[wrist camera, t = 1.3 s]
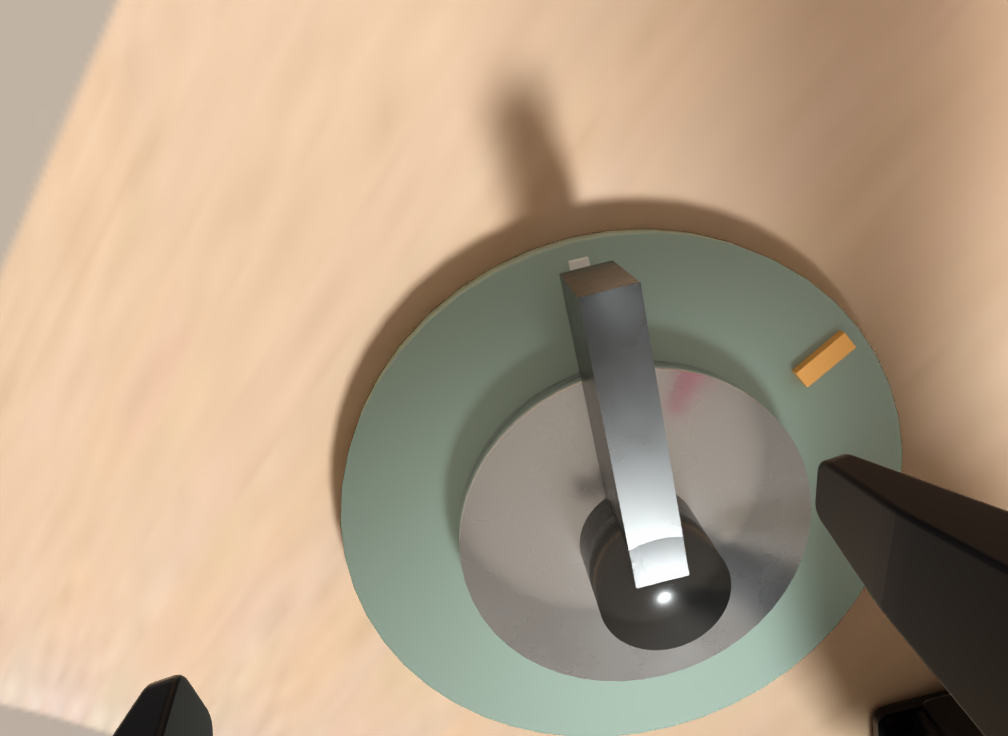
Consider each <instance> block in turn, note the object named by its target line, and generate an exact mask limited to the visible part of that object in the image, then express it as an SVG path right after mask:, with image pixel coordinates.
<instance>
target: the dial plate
mask: <svg viewBox="0 0 1008 736" xmlns="http://www.w3.org/2000/svg"><path fill="white" fill-rule="evenodd" d="M611 260H613V261H614V262H615V263H617V264H618V265H619V266H621V267H622V268H623V269H624V270H626V271H627V272H628V273H629V274H631V275H632V276H633V277H634V278H636V279H637V280H638V281H639V282H640V283H641V289H642V295H643V301H644V307H645V313H646V319H647V325H648V330H649V336H650V342H651V348H652V354H653V360H654V361H669V362H676V363H681V364H686V365H690V366H695V367H698V368H701V369H703V370H706V371H709V372H712V373H715V374H717V375H719V376H721V377H723V378H725V379H727V380H729V381H730V382H732V383H734V384H736V385H737V386H739V387H740V388H741V389H743V390H744V391H745V392H747V393H748V394H750V395H751V396H752V397H753V398H755V399H756V400H757V401H758V402H759V403H760V404H761V405H763V406H764V407H765V408H766V409H767V410H768V411H769V412H770V413H771V414H772V415H773V416H774V417H775V418H776V419H777V420H778V421H779V422H780V423H781V424H782V426H783V427H784V428H785V430H786V431H787V433H788V434H789V435H790V437H791V438H792V439H793V441H794V443H795V445H796V447H797V449H798V451H799V453H800V455H801V457H802V460H803V463H804V466H805V469H806V472H807V475H808V480H809V485H810V491H811V523H810V531H809V537H808V540H807V544H806V548H805V551H804V555H803V557H802V560H801V562H800V564H799V567H798V569H797V572H796V574H795V576H794V577H793V579H792V581H791V583H790V584H789V586H788V588H787V589H786V591H785V593H784V594H783V595H782V597H781V598H780V599H779V601H778V602H777V603H776V605H775V606H774V607H773V609H772V610H771V611H770V612H769V613H768V614H767V615H766V616H765V617H764V618H763V619H762V620H761V621H760V623H759V624H758V625H756V626H755V627H754V628H753V629H752V630H751V631H749V632H748V633H747V634H746V635H745V636H744V637H742V638H741V639H740V640H738V641H737V642H735V643H734V644H732V645H731V646H729V647H728V648H727V649H725V650H723V651H722V652H720V653H718V654H716V655H714V656H712V657H711V658H709V659H707V660H705V661H703V662H700V663H698V664H696V665H693V666H691V667H689V668H686V669H683V670H680V671H677V672H673V673H670V674H667V675H663V676H658V677H653V678H648V679H642V680H631V681H598V680H590V679H582V678H577V677H573V676H569V675H565V674H561V673H558V672H555V671H553V670H550V669H547V668H545V667H542V666H540V665H538V664H536V663H534V662H532V661H531V660H529V659H527V658H525V657H523V656H522V655H520V654H519V653H518V652H516V651H515V650H513V649H512V648H511V647H509V646H508V645H507V644H506V643H505V642H504V641H503V640H501V639H500V638H499V637H498V636H497V635H496V634H495V633H494V632H493V631H492V629H491V628H490V627H489V626H488V624H487V623H486V622H485V621H484V619H483V618H482V617H481V615H480V613H479V611H478V610H477V608H476V606H475V605H474V603H473V601H472V599H471V596H470V594H469V591H468V588H467V586H466V583H465V580H464V575H463V570H462V566H461V558H460V541H459V518H460V506H461V502H462V498H463V493H464V489H465V485H466V483H467V480H468V478H469V475H470V473H471V470H472V468H473V465H474V463H475V462H476V460H477V458H478V456H479V455H480V453H481V451H482V449H483V448H484V446H485V444H486V443H487V442H488V441H489V439H490V438H491V437H492V435H493V434H494V433H495V431H496V430H497V429H498V427H499V426H500V425H501V424H502V423H503V422H504V421H505V420H506V419H507V418H508V417H509V416H510V415H511V414H512V413H513V412H514V411H515V410H516V409H518V408H519V407H520V406H522V405H523V404H524V403H525V402H527V401H528V400H529V399H530V398H532V397H533V396H534V395H536V394H538V393H539V392H541V391H543V390H544V389H546V388H548V387H549V386H551V385H552V384H554V383H556V382H558V381H561V380H563V379H565V378H567V377H569V376H572V375H574V374H576V373H579V367H578V363H577V358H576V353H575V348H574V343H573V338H572V334H571V329H570V324H569V319H568V314H567V310H566V305H565V300H564V295H563V290H562V285H561V281H560V276H559V273H563V272H567V271H571V270H575V269H579V268H583V267H587V266H591V265H595V264H599V263H603V262H607V261H611ZM842 454H850V455H854V456H857V457H860V458H862V459H865V460H868V461H871V462H873V463H876V464H879V465H882V466H884V467H887V468H890V469H893V470H895V471H898V472H901V469H902V444H901V435H900V426H899V417H898V414H897V410H896V406H895V402H894V399H893V395H892V391H891V388H890V385H889V383H888V380H887V378H886V376H885V374H884V371H883V369H882V367H881V365H880V362H879V360H878V358H877V356H876V354H875V353H874V351H873V349H872V348H871V346H870V345H869V343H868V342H867V340H866V339H865V337H864V336H863V334H862V333H861V331H860V330H859V328H858V327H857V326H856V325H855V323H854V322H853V321H852V320H851V319H850V318H849V317H848V316H847V315H846V313H845V312H844V311H843V310H842V309H841V308H840V307H839V306H838V305H837V304H836V302H835V301H833V300H832V299H831V298H830V297H828V296H827V295H826V294H825V293H823V292H822V291H821V290H820V289H818V288H817V287H816V286H815V285H813V284H812V283H811V282H810V281H808V280H807V279H806V278H804V277H802V276H801V275H799V274H797V273H795V272H794V271H792V270H790V269H788V268H787V267H785V266H783V265H782V264H780V263H778V262H776V261H775V260H772V259H770V258H768V257H765V256H763V255H760V254H758V253H755V252H752V251H750V250H747V249H745V248H742V247H740V246H737V245H735V244H732V243H730V242H727V241H724V240H719V239H715V238H711V237H706V236H702V235H698V234H694V233H689V232H680V231H669V230H657V229H633V230H611V231H604V232H598V233H593V234H587V235H582V236H576V237H570V238H567V239H563V240H560V241H557V242H554V243H551V244H548V245H545V246H541V247H538V248H535V249H532V250H529V251H527V252H525V253H523V254H520V255H518V256H516V257H514V258H512V259H510V260H508V261H506V262H503V263H501V264H499V265H497V266H495V267H493V268H491V269H489V270H488V271H486V272H485V273H483V274H482V275H480V276H478V277H477V278H475V279H474V280H472V281H471V282H469V283H467V284H466V285H464V286H463V287H461V288H460V289H458V290H457V291H456V292H454V293H453V294H452V295H451V296H450V297H448V298H447V299H446V300H445V301H444V302H442V303H441V304H440V305H439V306H438V307H436V308H435V309H434V310H433V311H432V312H431V313H429V314H428V315H427V316H426V317H425V318H424V319H423V320H422V322H421V323H420V324H419V325H418V326H417V327H416V328H415V329H414V330H413V331H412V332H411V334H410V335H409V336H408V337H407V338H406V339H405V340H404V341H403V342H402V343H401V345H400V346H399V347H398V349H397V350H396V352H395V353H394V355H393V356H392V358H391V359H390V360H389V362H388V363H387V365H386V366H385V368H384V369H383V371H382V372H381V373H380V375H379V377H378V379H377V381H376V383H375V385H374V387H373V389H372V391H371V393H370V395H369V397H368V399H367V401H366V403H365V405H364V407H363V409H362V412H361V415H360V418H359V421H358V424H357V427H356V430H355V433H354V436H353V439H352V442H351V445H350V449H349V452H348V457H347V463H346V468H345V474H344V479H343V485H342V497H341V529H342V537H343V545H344V553H345V558H346V562H347V565H348V569H349V572H350V576H351V579H352V583H353V586H354V589H355V591H356V593H357V595H358V597H359V600H360V602H361V604H362V606H363V608H364V610H365V613H366V615H367V617H368V618H369V620H370V621H371V623H372V624H373V626H374V627H375V629H376V630H377V632H378V634H379V635H380V637H381V638H382V640H383V641H384V643H385V644H386V645H387V646H388V647H389V648H390V649H391V650H392V652H393V653H394V654H395V655H396V656H397V657H398V658H399V660H400V661H401V662H402V663H403V664H404V665H405V666H406V667H407V668H408V669H409V670H411V671H412V672H413V673H414V674H415V675H416V676H418V677H419V678H420V679H421V680H422V681H423V682H425V683H426V684H427V685H428V686H430V687H431V688H433V689H434V690H436V691H437V692H439V693H440V694H442V695H443V696H445V697H446V698H448V699H449V700H451V701H453V702H454V703H456V704H458V705H460V706H462V707H464V708H466V709H469V710H471V711H473V712H475V713H477V714H479V715H481V716H483V717H486V718H489V719H492V720H495V721H498V722H501V723H504V724H506V725H509V726H513V727H517V728H522V729H526V730H531V731H535V732H540V733H546V734H555V735H564V736H618V735H628V734H638V733H643V732H648V731H653V730H658V729H663V728H668V727H672V726H675V725H678V724H682V723H685V722H688V721H692V720H695V719H698V718H701V717H704V716H706V715H708V714H711V713H713V712H716V711H718V710H721V709H723V708H725V707H728V706H730V705H732V704H734V703H736V702H738V701H740V700H742V699H743V698H745V697H747V696H749V695H751V694H753V693H755V692H756V691H758V690H760V689H762V688H763V687H765V686H766V685H768V684H769V683H771V682H772V681H773V680H775V679H776V678H778V677H779V676H781V675H782V674H784V673H785V672H787V671H788V670H789V669H791V668H792V667H793V666H794V665H795V664H797V663H798V662H799V661H800V660H801V659H803V658H804V657H805V656H806V655H807V654H809V653H810V652H811V651H812V650H813V649H814V648H815V647H816V646H817V645H818V644H819V643H820V642H821V641H822V640H823V639H824V638H825V637H826V636H827V635H828V634H829V633H830V632H831V631H832V630H833V629H834V628H835V627H836V625H837V624H838V623H839V621H840V620H841V619H842V618H843V616H844V615H845V614H846V612H847V611H848V610H849V609H850V607H851V606H852V605H853V604H854V602H855V601H856V599H857V598H858V596H859V594H860V593H861V591H862V590H863V588H864V584H863V583H862V581H861V580H860V578H859V577H858V575H857V574H856V572H855V571H854V569H853V568H852V566H851V565H850V563H849V562H848V560H847V559H846V557H845V556H844V554H843V553H842V551H841V550H840V548H839V547H838V545H837V544H836V542H835V541H834V539H833V538H832V536H831V535H830V533H829V532H828V531H827V529H826V528H825V526H824V525H823V523H822V521H821V520H820V518H819V516H818V514H817V511H816V506H815V498H816V484H817V471H818V466H819V465H820V463H821V462H822V461H824V460H827V459H830V458H833V457H836V456H839V455H842Z"/></svg>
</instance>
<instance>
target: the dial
mask: <svg viewBox="0 0 1008 736" xmlns="http://www.w3.org/2000/svg"><path fill="white" fill-rule="evenodd" d="M559 276H560V281H561V285H562V290H563V295H564V300H565V305H566V310H567V314H568V319H569V324H570V329H571V334H572V338H573V343H574V348H575V353H576V358H577V363H578V367H579V373H576V374H574V375H572V376H569V377H567V378H565V379H563V380H561V381H558V382H556V383H554V384H552V385H551V386H549V387H548V388H546V389H544V390H543V391H541V392H539V393H538V394H536V395H534V396H533V397H532V398H530V399H529V400H528V401H527V402H525V403H524V404H523V405H522V406H520V407H519V408H518V409H516V410H515V411H514V412H513V413H512V414H511V415H510V416H509V417H508V418H507V419H506V420H505V421H504V422H503V423H502V424H501V425H500V426H499V427H498V429H497V430H496V431H495V433H494V434H493V435H492V437H491V438H490V439H489V441H488V442H487V443H486V444H485V446H484V448H483V449H482V451H481V453H480V455H479V456H478V458H477V460H476V462H475V463H474V465H473V468H472V470H471V473H470V475H469V478H468V480H467V483H466V485H465V489H464V493H463V498H462V502H461V506H460V518H459V541H460V558H461V566H462V570H463V575H464V580H465V583H466V586H467V588H468V591H469V594H470V596H471V599H472V601H473V603H474V605H475V606H476V608H477V610H478V611H479V613H480V615H481V617H482V618H483V619H484V621H485V622H486V623H487V624H488V626H489V627H490V628H491V629H492V631H493V632H494V633H495V634H496V635H497V636H498V637H499V638H500V639H501V640H503V641H504V642H505V643H506V644H507V645H508V646H509V647H511V648H512V649H513V650H515V651H516V652H518V653H519V654H520V655H522V656H523V657H525V658H527V659H529V660H531V661H532V662H534V663H536V664H538V665H540V666H542V667H545V668H547V669H550V670H553V671H555V672H558V673H561V674H565V675H569V676H573V677H577V678H582V679H590V680H598V681H631V680H642V679H648V678H653V677H658V676H663V675H667V674H670V673H673V672H677V671H680V670H683V669H686V668H689V667H691V666H693V665H696V664H698V663H700V662H703V661H705V660H707V659H709V658H711V657H712V656H714V655H716V654H718V653H720V652H722V651H723V650H725V649H727V648H728V647H729V646H731V645H732V644H734V643H735V642H737V641H738V640H740V639H741V638H742V637H744V636H745V635H746V634H747V633H748V632H749V631H751V630H752V629H753V628H754V627H755V626H756V625H758V624H759V623H760V621H761V620H762V619H763V618H764V617H765V616H766V615H767V614H768V613H769V612H770V611H771V610H772V609H773V607H774V606H775V605H776V603H777V602H778V601H779V599H780V598H781V597H782V595H783V594H784V593H785V591H786V589H787V588H788V586H789V584H790V583H791V581H792V579H793V577H794V576H795V574H796V572H797V569H798V567H799V564H800V562H801V560H802V557H803V555H804V551H805V548H806V544H807V540H808V537H809V531H810V523H811V491H810V485H809V480H808V475H807V472H806V469H805V466H804V463H803V460H802V457H801V455H800V453H799V451H798V449H797V447H796V445H795V443H794V441H793V439H792V438H791V437H790V435H789V434H788V433H787V431H786V430H785V428H784V427H783V426H782V424H781V423H780V422H779V421H778V420H777V419H776V418H775V417H774V416H773V415H772V414H771V413H770V412H769V411H768V410H767V409H766V408H765V407H764V406H763V405H761V404H760V403H759V402H758V401H757V400H756V399H755V398H753V397H752V396H751V395H750V394H748V393H747V392H745V391H744V390H743V389H741V388H740V387H739V386H737V385H736V384H734V383H732V382H730V381H729V380H727V379H725V378H723V377H721V376H719V375H717V374H715V373H712V372H709V371H706V370H703V369H701V368H698V367H695V366H690V365H686V364H681V363H676V362H669V361H654V360H653V354H652V348H651V342H650V336H649V330H648V325H647V319H646V313H645V307H644V301H643V295H642V289H641V283H640V282H639V281H638V280H637V279H636V278H634V277H633V276H632V275H631V274H629V273H628V272H627V271H626V270H624V269H623V268H622V267H621V266H619V265H618V264H617V263H615V262H614V261H613V260H611V261H607V262H603V263H599V264H595V265H591V266H587V267H583V268H579V269H575V270H571V271H567V272H563V273H559Z"/></svg>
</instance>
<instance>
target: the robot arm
mask: <svg viewBox="0 0 1008 736" xmlns="http://www.w3.org/2000/svg"><path fill="white" fill-rule="evenodd" d="M815 506H816V511H817V514H818V516H819V518H820V520H821V521H822V523H823V525H824V526H825V528H826V529H827V531H828V532H829V533H830V535H831V536H832V538H833V539H834V541H835V542H836V544H837V545H838V547H839V548H840V550H841V551H842V553H843V554H844V556H845V557H846V559H847V560H848V562H849V563H850V565H851V566H852V568H853V569H854V571H855V572H856V574H857V575H858V577H859V578H860V580H861V581H862V583H863V584H864V586H865V587H866V589H867V590H868V592H869V593H870V595H871V596H872V598H873V599H874V600H875V602H876V603H877V605H878V606H879V608H880V609H881V610H882V611H883V613H884V614H885V615H886V617H887V618H888V619H889V620H890V622H891V623H892V624H893V625H894V627H895V628H896V629H897V630H898V631H899V633H900V634H901V635H902V636H903V637H904V639H905V640H906V641H907V642H908V644H909V645H910V646H911V647H912V648H913V650H914V651H915V652H916V653H917V654H918V656H919V657H920V658H921V659H922V661H923V662H924V663H925V664H926V665H927V667H928V668H929V669H930V670H931V671H932V673H933V674H934V675H935V676H936V677H937V679H938V680H939V681H940V682H941V684H942V685H943V686H944V687H945V688H946V690H947V691H943V692H939V693H935V694H931V695H928V696H924V697H920V698H916V699H912V700H908V701H904V702H900V703H896V704H892V705H888V706H884V707H881V708H879V709H878V710H876V711H875V713H874V714H873V718H872V719H873V735H874V736H1008V511H1006V510H1003V509H1000V508H997V507H995V506H992V505H989V504H986V503H984V502H981V501H978V500H975V499H973V498H970V497H967V496H964V495H962V494H959V493H956V492H953V491H951V490H948V489H945V488H942V487H940V486H937V485H934V484H931V483H928V482H926V481H923V480H920V479H917V478H915V477H912V476H909V475H906V474H904V473H901V472H898V471H895V470H893V469H890V468H887V467H884V466H882V465H879V464H876V463H873V462H871V461H868V460H865V459H862V458H860V457H857V456H854V455H850V454H842V455H839V456H836V457H833V458H830V459H827V460H824V461H822V462H821V463H820V465H819V466H818V471H817V484H816V498H815ZM113 736H213V729H212V721H211V717H210V714H209V712H208V710H207V708H206V707H205V705H204V704H203V702H202V701H201V699H200V698H199V696H198V695H197V693H196V692H195V690H194V689H193V687H192V686H191V684H190V683H189V681H188V680H187V679H186V678H185V677H184V676H182V675H174V676H171V677H168V678H165V679H162V680H159V681H156V682H153V683H151V684H149V685H148V686H147V687H146V688H145V689H144V690H143V691H142V693H141V694H140V696H139V697H138V699H137V700H136V701H135V703H134V704H133V706H132V707H131V709H130V710H129V712H128V713H127V715H126V716H125V718H124V719H123V721H122V722H121V724H120V725H119V727H118V728H117V730H116V731H115V733H114V734H113Z"/></svg>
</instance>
